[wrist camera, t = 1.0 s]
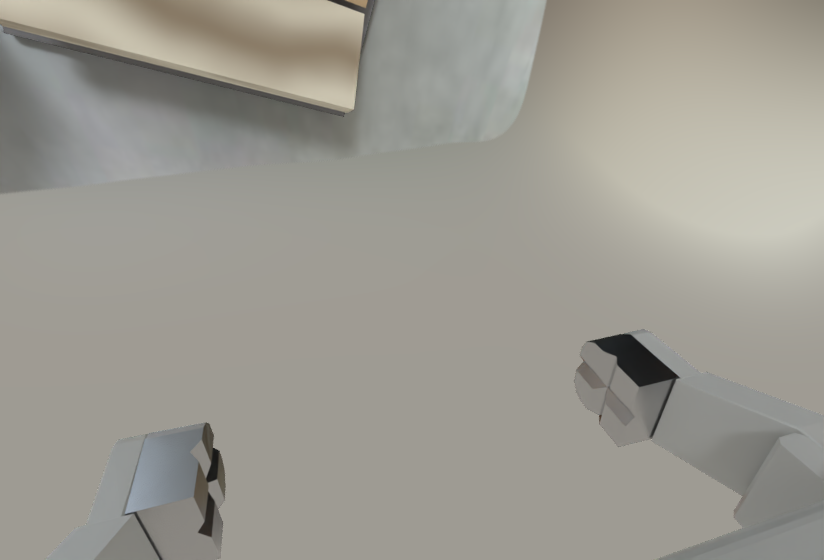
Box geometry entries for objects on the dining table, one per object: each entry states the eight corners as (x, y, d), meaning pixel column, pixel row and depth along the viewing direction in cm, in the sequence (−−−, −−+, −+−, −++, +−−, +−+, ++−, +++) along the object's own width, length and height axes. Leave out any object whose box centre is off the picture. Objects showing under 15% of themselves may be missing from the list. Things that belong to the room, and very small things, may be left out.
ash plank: (6, -105, 25) (-3, -122, 24) (357, 21, 35) (364, 14, 34) (2, 26, 26) (-7, 16, 25) (347, 112, 36) (353, 109, 34)
